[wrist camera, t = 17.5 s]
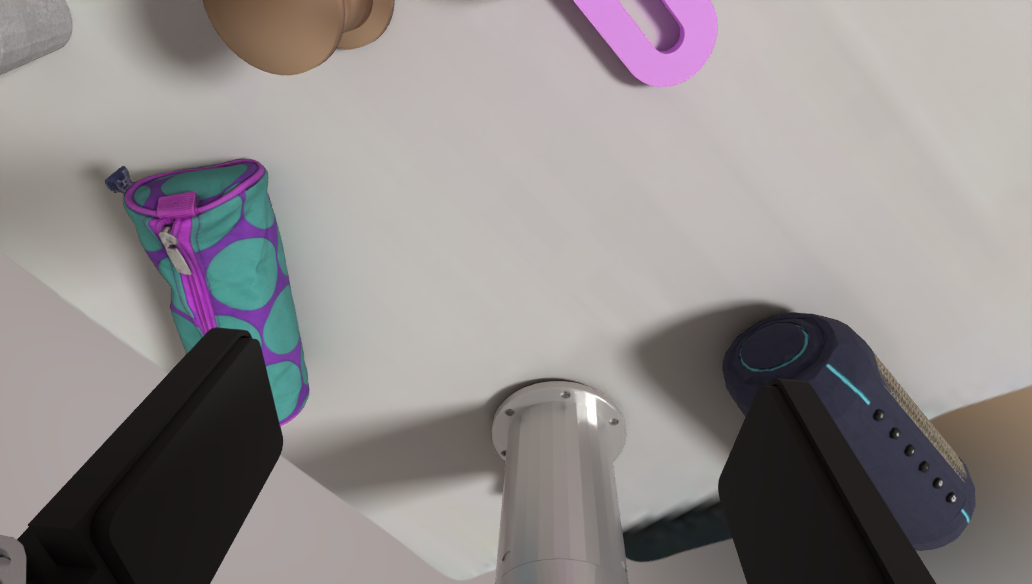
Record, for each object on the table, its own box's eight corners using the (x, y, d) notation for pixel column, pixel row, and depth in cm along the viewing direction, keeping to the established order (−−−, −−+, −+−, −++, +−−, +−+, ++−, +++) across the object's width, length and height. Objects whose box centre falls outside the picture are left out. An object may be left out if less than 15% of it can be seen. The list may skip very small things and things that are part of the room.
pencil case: (167, 143, 37) (60, 194, 29) (289, 152, 37) (216, 205, 29) (235, 366, 48) (172, 448, 40) (330, 374, 48) (286, 457, 40)
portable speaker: (943, 438, 48) (1026, 538, 40) (840, 484, 52) (896, 584, 44) (804, 268, 40) (873, 350, 31) (694, 338, 44) (728, 428, 35)
